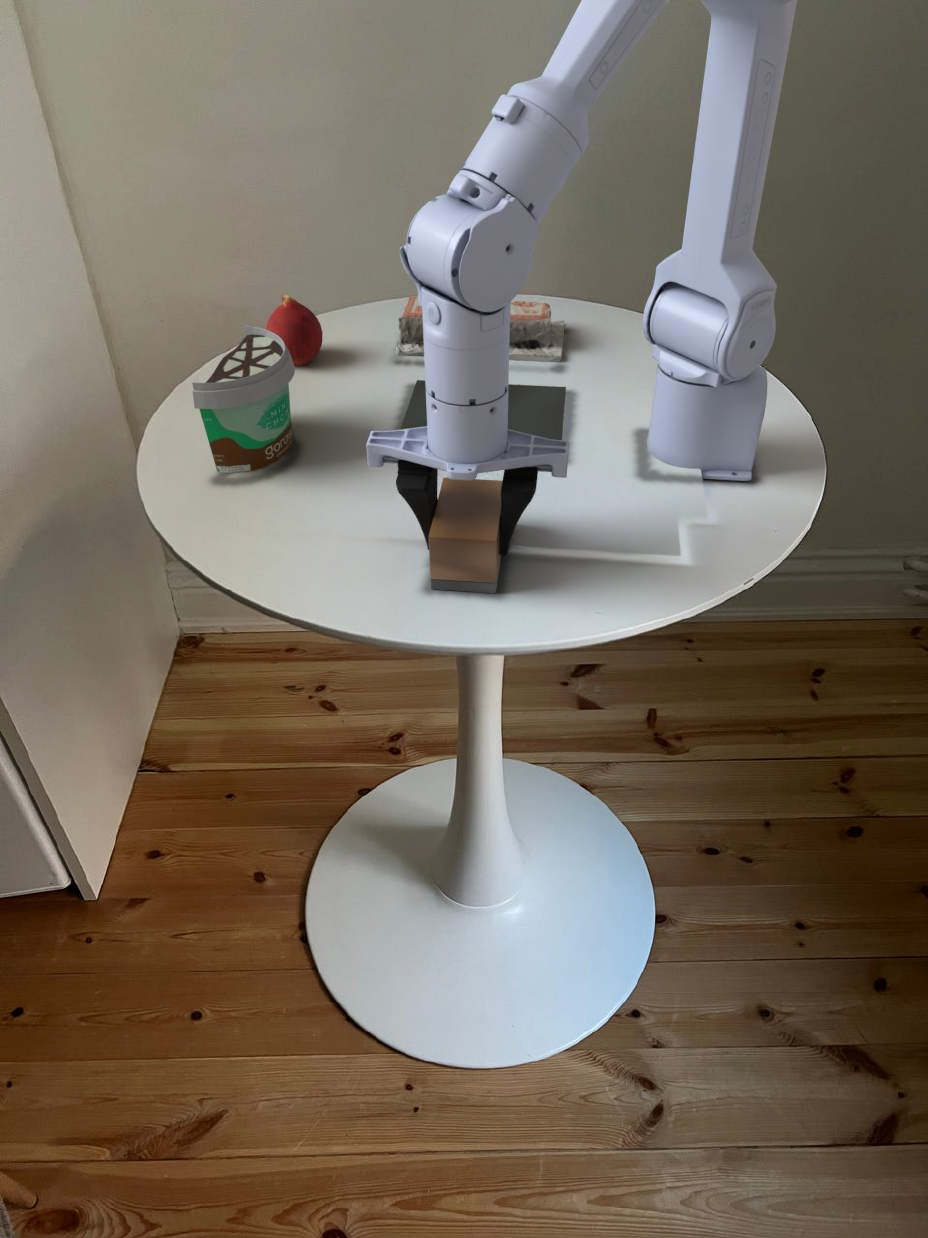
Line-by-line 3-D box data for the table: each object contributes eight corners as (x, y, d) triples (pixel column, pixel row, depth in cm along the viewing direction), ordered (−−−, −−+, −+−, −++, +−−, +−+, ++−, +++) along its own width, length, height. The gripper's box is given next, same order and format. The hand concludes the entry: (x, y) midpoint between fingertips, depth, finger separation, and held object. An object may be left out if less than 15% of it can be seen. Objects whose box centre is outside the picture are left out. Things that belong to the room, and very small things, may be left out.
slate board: (569, 393, 94) (569, 384, 93) (564, 461, 84) (565, 451, 83) (414, 386, 95) (413, 377, 94) (391, 452, 85) (391, 442, 85)
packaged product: (391, 320, 96) (406, 284, 103) (394, 363, 99) (408, 325, 107) (564, 326, 94) (567, 289, 102) (561, 370, 97) (564, 331, 105)
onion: (312, 351, 102) (303, 279, 96) (335, 371, 98) (326, 298, 93) (263, 364, 99) (251, 291, 94) (284, 385, 96) (273, 310, 90)
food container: (279, 497, 80) (261, 392, 73) (213, 489, 81) (189, 385, 74) (323, 426, 89) (311, 327, 82) (263, 421, 90) (246, 322, 83)
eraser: (504, 532, 76) (506, 480, 72) (495, 593, 70) (496, 540, 66) (444, 528, 76) (443, 477, 73) (430, 589, 70) (428, 536, 67)
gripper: (351, 409, 61) (367, 570, 70) (571, 420, 59) (559, 583, 68) (371, 361, 66) (384, 517, 75) (574, 370, 65) (562, 528, 74)
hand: (468, 545), depth 72 cm, fingers closed on eraser, 5 cm apart
